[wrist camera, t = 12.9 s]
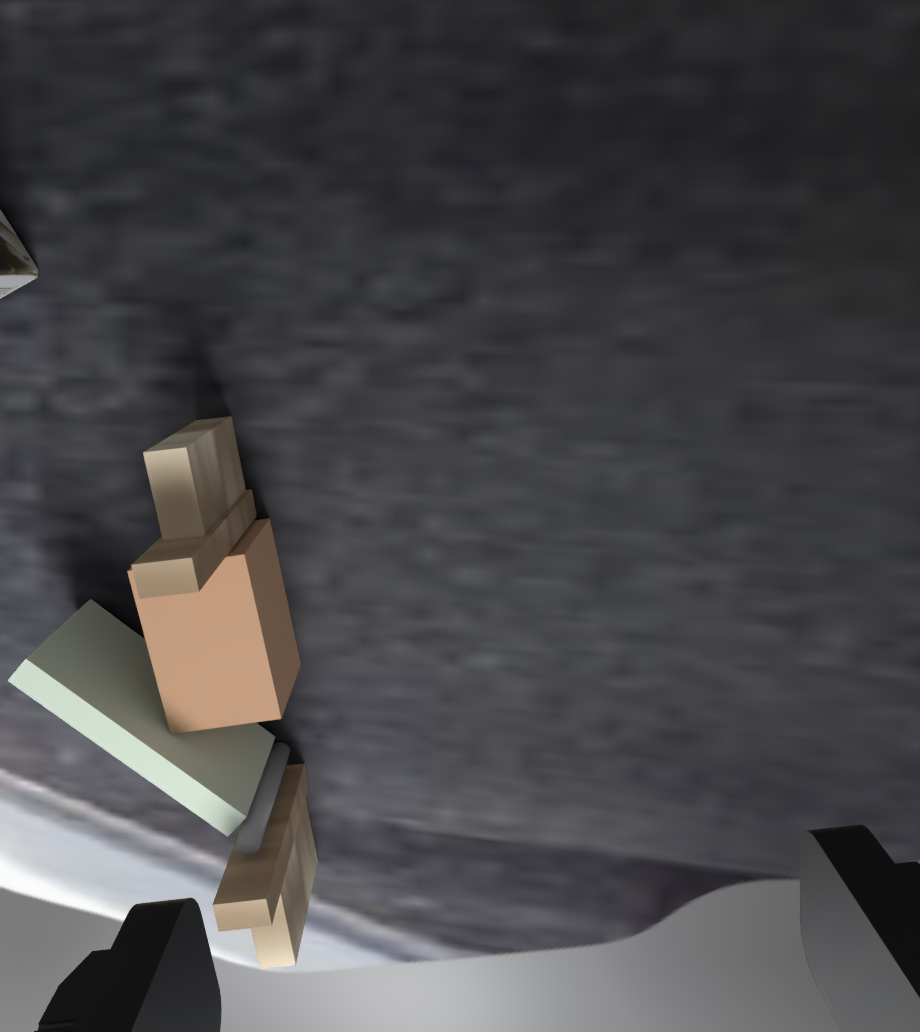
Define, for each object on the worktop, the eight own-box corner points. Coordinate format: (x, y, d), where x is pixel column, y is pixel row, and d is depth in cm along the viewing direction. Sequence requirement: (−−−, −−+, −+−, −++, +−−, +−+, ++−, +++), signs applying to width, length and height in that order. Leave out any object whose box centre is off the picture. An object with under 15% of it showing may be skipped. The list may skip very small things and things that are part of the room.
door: (61, 633, 38) (-18, 708, 32) (93, 596, 38) (19, 664, 31) (264, 781, 40) (229, 880, 34) (296, 747, 40) (266, 841, 33)
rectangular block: (168, 532, 37) (127, 571, 32) (270, 517, 37) (244, 554, 32) (204, 677, 39) (170, 734, 34) (301, 663, 39) (281, 718, 34)
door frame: (189, 421, 36) (108, 469, 27) (237, 415, 36) (171, 462, 27) (282, 864, 42) (240, 1020, 33) (322, 860, 42) (291, 1014, 33)
